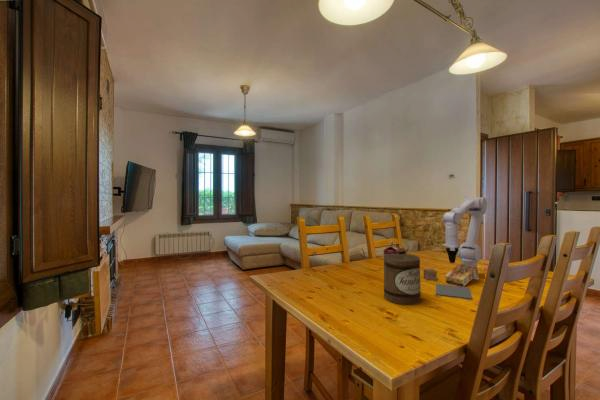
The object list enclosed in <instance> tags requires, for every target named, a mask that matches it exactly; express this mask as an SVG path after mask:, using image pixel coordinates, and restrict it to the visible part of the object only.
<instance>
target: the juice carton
mask: <svg viewBox="0 0 600 400" xmlns="http://www.w3.org/2000/svg"><path fill="white" fill-rule="evenodd" d="M399 248H400V247H398V246H396V245H394V241H392V242H391V244H390V245H389V246H387V247H385V248H384V249H383V257H384V256H385V255H387V254H397V253H398V251H397V249H399Z"/></svg>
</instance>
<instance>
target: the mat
mask: <svg viewBox="0 0 600 400" xmlns="http://www.w3.org/2000/svg"><path fill="white" fill-rule="evenodd" d="M435 296H440V297H448V298H455V299H462V300H463V299H464V300H471V301H473V296H472V293H471V289H470V287H468V286H464V287H462V286H458V285H453V284H451V285H450V284H441V283H436V284H435Z"/></svg>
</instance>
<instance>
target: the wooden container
mask: <svg viewBox="0 0 600 400" xmlns="http://www.w3.org/2000/svg"><path fill="white" fill-rule="evenodd" d="M398 248H399V249H397V251H398V253H397V254H387V255H385V256H384V255H383V297H384V299H385V300H386V301H388V302H390V303H393V304H397V305H407V306H408V305H409V306H410V305H411V306H412V305H415V304H419V303H420V302H421V289H422V288H421V258H420V257H419V256H416V255H413V254H408V253H406V249H405V248H404V247H398Z"/></svg>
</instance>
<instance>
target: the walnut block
mask: <svg viewBox="0 0 600 400" xmlns="http://www.w3.org/2000/svg"><path fill="white" fill-rule="evenodd" d="M437 273H438V272H437V270H436V269H434V268H423V279H424V280H425V281H431V282H433V281H435V282H437V280H438V277H437V276H438V274H437Z"/></svg>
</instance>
